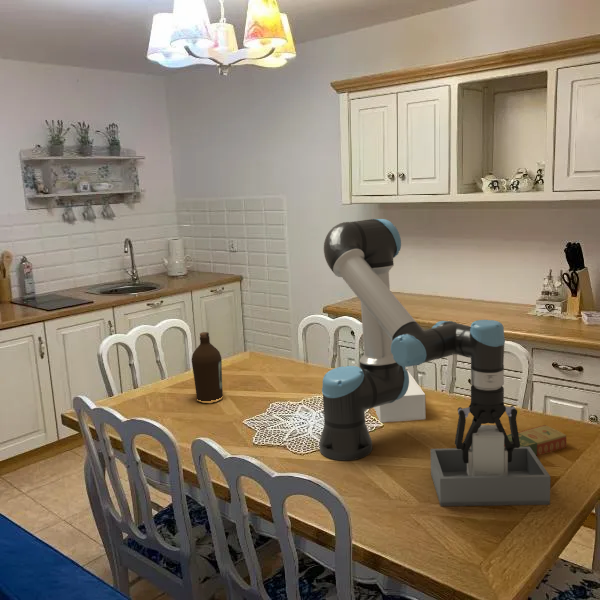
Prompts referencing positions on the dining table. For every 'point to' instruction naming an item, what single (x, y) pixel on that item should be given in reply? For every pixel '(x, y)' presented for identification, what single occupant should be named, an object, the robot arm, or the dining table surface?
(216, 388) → the olive oil
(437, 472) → the open box
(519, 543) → the dining table surface
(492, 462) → the supplement box
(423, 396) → the hammer embossed block
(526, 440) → the carton
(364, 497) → the dining table surface
